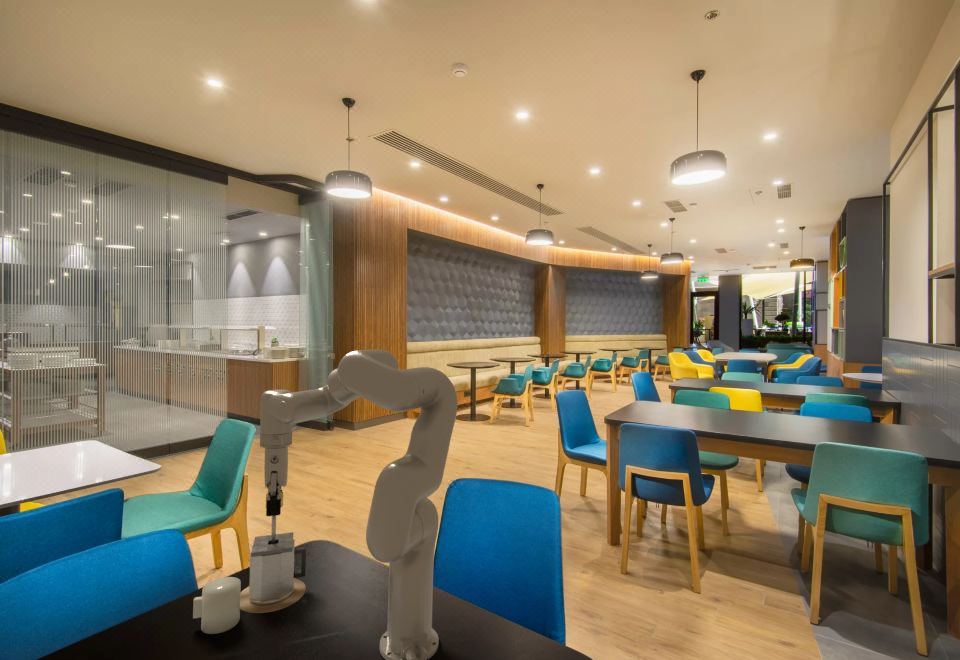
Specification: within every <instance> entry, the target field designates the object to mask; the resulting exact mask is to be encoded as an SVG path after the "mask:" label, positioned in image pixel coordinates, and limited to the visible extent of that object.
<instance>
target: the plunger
mask: <svg viewBox="0 0 960 660" xmlns="http://www.w3.org/2000/svg"><path fill="white" fill-rule="evenodd" d="M277 492H278V491H277ZM267 498H268V492H267V493H266V494H265V504H266V503H267ZM280 498H281V508H282V507H284V492H283V490H282V491H280ZM276 534H277V515H276V516H271V534H270V535H271V544H275V542H276Z"/></svg>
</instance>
